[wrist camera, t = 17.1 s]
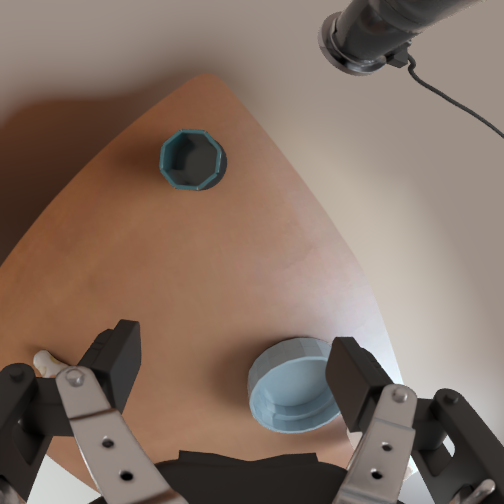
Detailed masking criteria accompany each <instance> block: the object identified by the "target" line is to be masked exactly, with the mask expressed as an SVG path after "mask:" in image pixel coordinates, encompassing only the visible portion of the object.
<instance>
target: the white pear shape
mask: <svg viewBox="0 0 504 504" xmlns="http://www.w3.org/2000/svg"><path fill="white" fill-rule="evenodd" d="M34 365H35V367H36V368H37V369H38V370H39V372H40V373H41V374H42V376H43V377H45V378H56V375H57V373H58V372H59V371H60V370H62V369H63V368H66V367H69V365H66V364H64V363H62V362H60V361H58V360H56V359H55V358H54V357H53V356H51V354H50V353H49V352H48V351H44V350H41V351H39V352H38V353H37V354H36V355H35V356H34Z"/></svg>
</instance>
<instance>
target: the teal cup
mask: <svg viewBox="0 0 504 504" xmlns="http://www.w3.org/2000/svg"><path fill="white" fill-rule="evenodd" d="M163 145H164V146H161V152H160V161H159V168H161V170H160V172H161V173H162V174H163V176H164V177H165V178H166V179H167V180H168V182H169V183H170V184H171V185H172V187H175V188H176V189H187V190H199V189H202V188H204V187H206V186H207V185H209V184H210V183H211V182H212V181H214V180H215V179H216V178H217V177H219V176H220V175H219V173H220V174H221V169H222V161H223V155H222V151H221V148H220V147H219V146H218V144H217V143H216V142H215V141H214V140H213V138H212V137H211V136H210V135H209V134H208V132H205V131H204V130H194V129H182V131H181V130H179V131H177V132H176V133H175V134H174V135H173V136H171V137H170V138H169V139H168V140H167V141H165V142H164V143H163Z"/></svg>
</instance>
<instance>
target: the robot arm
mask: <svg viewBox="0 0 504 504" xmlns="http://www.w3.org/2000/svg"><path fill="white" fill-rule="evenodd" d="M483 1H486V0H352V1H351V2H350V3H349V4H348V6H347V7H346V8H345V9H344V11H343V12H342V13H341V14H340V16H339V17H338V18H337V19H336V18H335V19H334V21H333V23H332V25H331V27H330V30H329V37H330V41H331V43H332V45H333V47H334V49H335V50H336V51H337V52H338V54H339V55H341V56H342V57H343V58H344V59H346V60H347V61H349V62H351V63H354V64H357V65H362V66H367V65H372V64H374V63H380V64H382V63H383V62H385V61H386V64H389V65H392V66H395V67H397V68H401V67H403V66H405V65H406V64H408V60H409V61H410V63H411V64H410V65H409V67H408V71H409V73H410V75H411V76H412V78H413V79H414V80H415V81H417V82H418V83H419V84H420V85H422V86H424V87H425V88H427V89H429V90H431V91H432V92H434V93H436V94H438V95H439V96H441V97H442V98H444V99H445V100H447V101H448V102H450V103H452V104H453V105H455V106H457V107H459V108H460V109H462V110H464V111H466V112H468V113H469V114H471V115H472V116H474V117H475V118H477V119H478V120H480V121H481V122H483V123H484V124H486V125H487V126H488V127H490V128H491V129H492V130H494V131H495V132H496V133H498V134H499V135H500V136H501V137H502V138H503V139H504V134H503V133H502V132H501V131H499V130H498V129H497V128H496V127H495V126H493V125H492V124H491V123H489V122H488V121H487V120H485V119H484V118H482V117H481V116H479V115H478V114H477V113H475V112H474V111H472V110H470V109H469V108H467V107H465V106H464V105H462V104H460V103H458V102H457V101H455V100H453V99H451V98H450V97H448V96H447V95H445V94H444V93H443V92H441V91H439V90H438V89H436V88H434V87H432V86H430V85H429V84H427V83H425V82H424V81H423V80H421V79H420V78H419V77H418V76H417V75H416V74H415V73H414V71H413V69H414V68H415V66H416V63H415V60H414V59H413V58H412V57H411V56H410V55H409V54H408V53H407V48H408V47H409V46H410V45H411V39H412V38H413V37H415V36H417V35H418V34H419V33H421V32H423V31H425V30H426V29H428V28H430V27H431V26H433V25H435V24H436V23H438V22H440V21H441V20H443V19H446V18H448V17H450V16H453V15H455V14H457V13H459V12H461V11H463V10H465V9H467V8H469V7H471V6H473V5H476V4H478V3H481V2H483ZM140 365H141V339H140V324H139V322H138V321H131V320H124V319H121V320H120V321H119V322H118V324H117V325H116V327H115V328H114V330H112V329H107V330H105V331H103V332H102V333H100V334H99V335H98V336H97V337H96V339H95V340H94V343H92V344H91V346H90V348H89V349H88V350H87V352H86V353H85V354H84V356H83V357H82V359H81V360H80V362H79V363H78V364H77V366H69V367H66V368H63V369H62V370H60V371H59V372H58V373H57V375H56V378H45V377H36V376H35V372H34V370H33V368H32V367H31V366H29V365H27V364H24V363H14V364H10V365H8V366H6V367H5V368H3V369H2V371H1V372H0V504H26V503H27V500H28V497H29V495H30V492H31V489H32V486H33V484H34V481H35V479H36V476H37V473H38V471H39V468H40V466H41V463H42V461H43V458H44V456H45V454H46V452H47V449H48V447H49V445H50V442H51V440H52V438H53V436H73V437H74V438H75V440H76V443H77V445H78V447H79V450H80V452H81V454H82V457H83V459H84V461H85V463H86V465H87V468H88V470H89V472H90V474H91V476H92V478H93V480H94V482H95V484H96V486H97V488H98V490H99V492H100V494H101V497H99V498H97V499H96V500H94V501H92V502H90V503H89V504H404V503H403V502H401V501H399V500H397V499H398V496H399V493H400V490H401V486H402V483H403V480H404V476H405V473H406V469H407V466H408V462H409V458H410V454H411V456H412V458H413V460H414V462H415V464H416V466H417V468H418V470H419V472H420V474H421V476H422V478H423V480H424V482H425V484H426V486H427V488H428V490H429V492H430V494H431V496H432V498H433V500H434V502H435V504H504V447H503V445H502V444H501V443H500V441H499V440H498V439H497V438H496V436H495V435H494V434H493V433H492V431H491V430H490V429H489V428H488V426H487V425H486V424H485V423H484V422H483V420H482V419H481V418H480V417H479V415H478V414H477V413H476V412H475V410H474V409H473V408H472V407H471V406H470V404H469V403H468V402H467V401H466V400H465V398H464V397H463V396H462V395H461V394H460V393H458V392H456V391H454V390H452V389H446V388H444V389H440V390H438V391H437V392H436V394H435V395H434V397H433V399H421V398H417V395H416V393H415V392H414V391H413V390H412V389H410V388H409V387H407V386H404V385H401V384H394V383H393V381H392V380H391V379H390V377H389V376H388V375H387V373H386V372H385V371H384V369H383V368H381V365H380V364H379V363H378V362H377V360H376V359H375V357H374V356H373V355H372V354H371V353H370V352H368V351H367V350H366V349H364V348H361V347H360V346H359V344H358V343H357V342H356V340H355V339H354V338H353V337H335V338H334V340H333V343H332V347H331V350H330V354H329V358H328V361H327V365H326V369H325V378H326V382H327V384H328V386H329V388H330V390H331V392H332V395H333V397H334V399H335V401H336V403H337V406H338V408H339V410H340V412H341V414H342V416H343V419H344V421H345V423H346V425H347V427H348V430H349V432H350V433H354V432H362V434H363V435H362V437H361V439H360V440H359V443H358V445H357V447H356V449H355V451H354V453H353V455H352V457H351V459H350V461H349V463H348V465H347V467H346V469H344V468H342V467H339V466H336V465H333V464H329V463H324V462H318V459H317V456H316V453H304V454H285V455H280V456H275V457H271V458H266V459H261V460H256V461H244V460H239V459H235V458H230V457H226V456H222V455H218V454H214V453H202V452H191V451H182V450H179V458H178V459H176V460H168V461H163V462H159V463H156V464H153V463H152V461H151V460H150V459H149V457H148V456H147V454H146V453H145V451H144V450H143V449H142V447H141V446H140V444H139V443H138V441H137V439H136V438H135V436H134V435H133V433H132V432H131V430H130V429H129V427H128V425H127V424H126V422H125V420H124V419H123V417H122V413H123V410H124V407H125V405H126V402H127V399H128V397H129V394H130V392H131V389H132V386H133V384H134V381H135V379H136V376H137V374H138V371H139V369H140ZM447 435H448V436H449V438H450V439H451V441H452V442H453V444H454V446H455V453H454V455H453V457H451V455H450V453H449V452H448V450H447V449H446V447H445V446H444V444H443V441H444V439H445V438H446V436H447Z"/></svg>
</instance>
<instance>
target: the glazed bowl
mask: <svg viewBox="0 0 504 504" xmlns="http://www.w3.org/2000/svg"><path fill="white" fill-rule="evenodd" d="M331 347H332V346H331V345H330V344H329V343H327V342H324V341H321V340H318V339H315V338H294V339H290V340H286V341H282V342H280V343H278V344H276V345H274V346H272V347H270V348H268V349H267V350H265V351H264V352H263V353H262V354H261V355H260V356H259V357H258V358H257V359H256V360H255V362H254V363H253V365H252V367H251V369H250V370H249V374H248V381H247V388H248V397H249V406H250V409H251V412H252V415H253V417H254V418H255V419H256V420H257V421H258V422H259V423H260V424H261V425H262V426H264V427H266V428H268V429H270V430H272V431H276V432H281V433H302V432H306V431H310V430H314V429H317V428H319V427H321V426H323V425H325V424H327V423H329V422H330V421H332V420H333V419H334V418H335V417H337V416H338V415H339V414H340V413H341V412H340V410H339V408H338V406H337V403H336V401H335V399H334V397H333V395H332V392H331V390H330V388H329V386H328V384H327V382H326V378H325V369H326V365H327V361H328V358H329V354H330V350H331Z"/></svg>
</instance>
